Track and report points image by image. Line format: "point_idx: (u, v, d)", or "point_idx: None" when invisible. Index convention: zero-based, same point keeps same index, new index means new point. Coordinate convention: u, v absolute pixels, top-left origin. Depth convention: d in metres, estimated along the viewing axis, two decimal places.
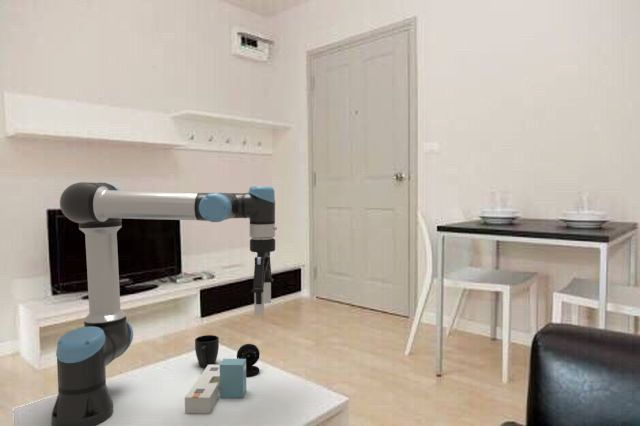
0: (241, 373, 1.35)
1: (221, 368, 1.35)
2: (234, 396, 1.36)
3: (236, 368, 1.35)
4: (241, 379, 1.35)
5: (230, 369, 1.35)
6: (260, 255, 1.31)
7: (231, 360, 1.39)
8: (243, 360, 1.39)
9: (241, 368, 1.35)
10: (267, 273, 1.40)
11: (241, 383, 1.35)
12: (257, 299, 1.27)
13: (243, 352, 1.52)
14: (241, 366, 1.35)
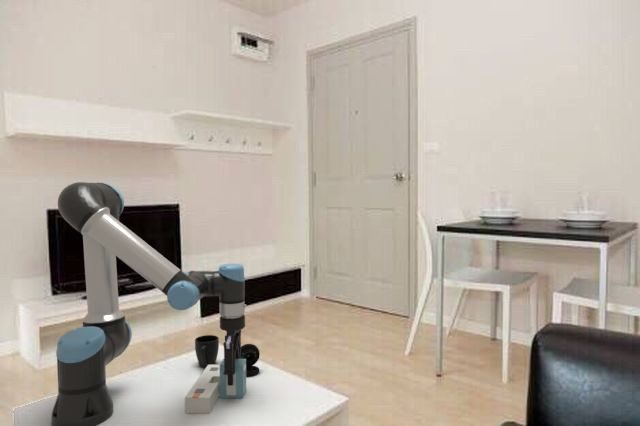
0: (241, 373, 1.35)
1: (221, 368, 1.35)
2: (234, 396, 1.36)
3: (236, 368, 1.35)
4: (241, 379, 1.35)
5: None
6: (229, 334, 1.34)
7: None
8: (243, 360, 1.39)
9: (241, 368, 1.35)
10: (236, 353, 1.40)
11: (241, 383, 1.35)
12: (229, 381, 1.34)
13: (243, 352, 1.52)
14: (241, 366, 1.35)
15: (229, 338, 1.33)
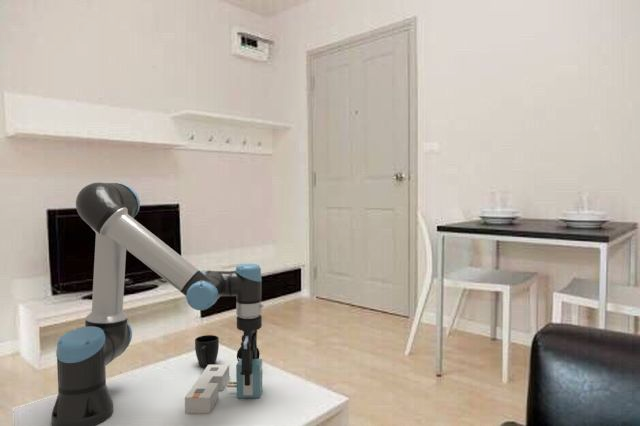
0: (258, 373, 1.35)
1: (238, 368, 1.35)
2: (251, 396, 1.36)
3: (253, 368, 1.35)
4: (258, 379, 1.35)
5: None
6: (246, 334, 1.33)
7: None
8: (259, 360, 1.39)
9: (258, 368, 1.35)
10: (253, 353, 1.40)
11: (258, 383, 1.35)
12: (246, 381, 1.33)
13: None
14: (258, 366, 1.35)
15: (246, 338, 1.33)
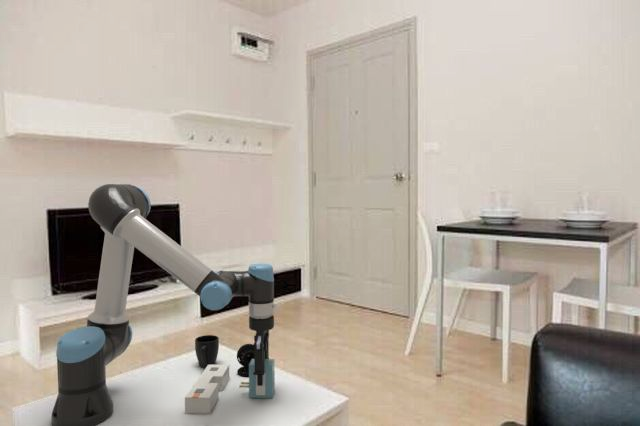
0: (270, 373, 1.35)
1: (250, 368, 1.35)
2: (263, 396, 1.35)
3: (265, 368, 1.35)
4: (270, 379, 1.35)
5: None
6: (259, 334, 1.33)
7: None
8: (272, 360, 1.39)
9: (270, 368, 1.35)
10: (265, 353, 1.40)
11: (270, 383, 1.35)
12: (258, 381, 1.33)
13: (243, 352, 1.52)
14: (270, 366, 1.35)
15: (259, 338, 1.33)
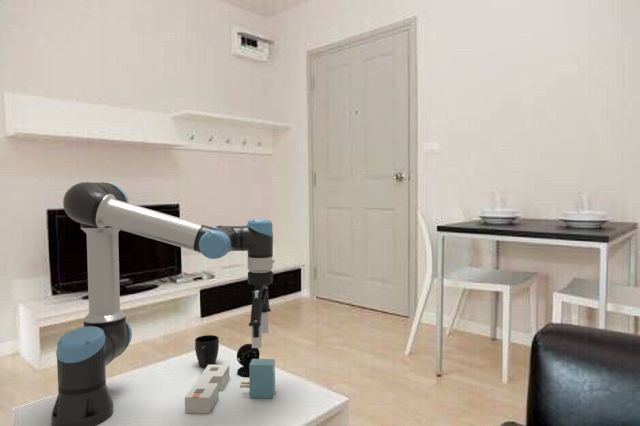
0: (271, 373, 1.35)
1: (251, 368, 1.35)
2: (264, 396, 1.35)
3: (266, 368, 1.35)
4: (271, 379, 1.35)
5: (260, 369, 1.35)
6: (258, 288, 1.33)
7: (260, 360, 1.39)
8: (272, 360, 1.39)
9: (271, 368, 1.35)
10: (265, 304, 1.42)
11: (271, 383, 1.35)
12: (254, 332, 1.29)
13: (243, 352, 1.52)
14: (271, 366, 1.35)
15: (258, 290, 1.32)
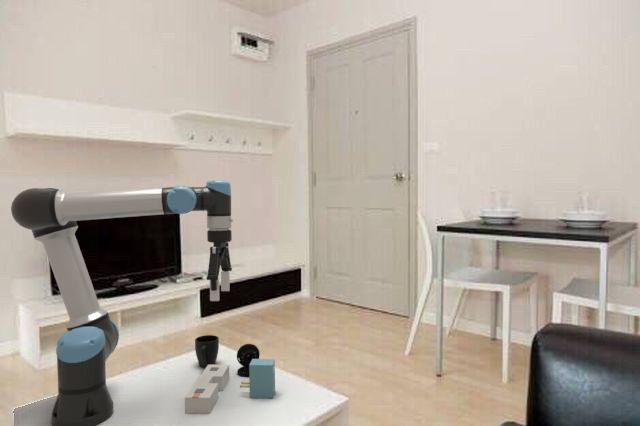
0: (271, 373, 1.35)
1: (251, 368, 1.35)
2: (264, 396, 1.35)
3: (266, 368, 1.35)
4: (271, 379, 1.35)
5: (260, 369, 1.35)
6: (216, 245, 1.40)
7: (260, 360, 1.39)
8: (272, 360, 1.39)
9: (271, 368, 1.35)
10: (225, 262, 1.49)
11: (271, 383, 1.35)
12: (212, 286, 1.36)
13: (243, 352, 1.52)
14: (271, 366, 1.35)
15: (216, 247, 1.40)
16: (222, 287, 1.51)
